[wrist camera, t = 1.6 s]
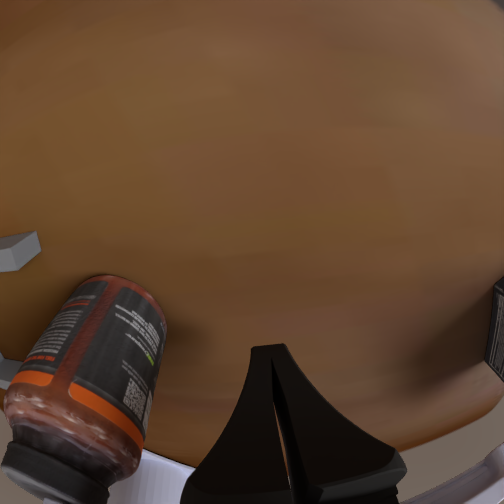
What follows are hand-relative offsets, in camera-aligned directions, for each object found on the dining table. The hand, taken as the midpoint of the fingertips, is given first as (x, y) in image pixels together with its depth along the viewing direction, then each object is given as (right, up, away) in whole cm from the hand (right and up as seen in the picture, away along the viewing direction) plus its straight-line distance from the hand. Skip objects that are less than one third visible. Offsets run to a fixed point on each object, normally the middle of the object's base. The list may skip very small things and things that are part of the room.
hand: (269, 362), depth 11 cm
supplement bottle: (-8, +1, +4) cm, 9 cm away
